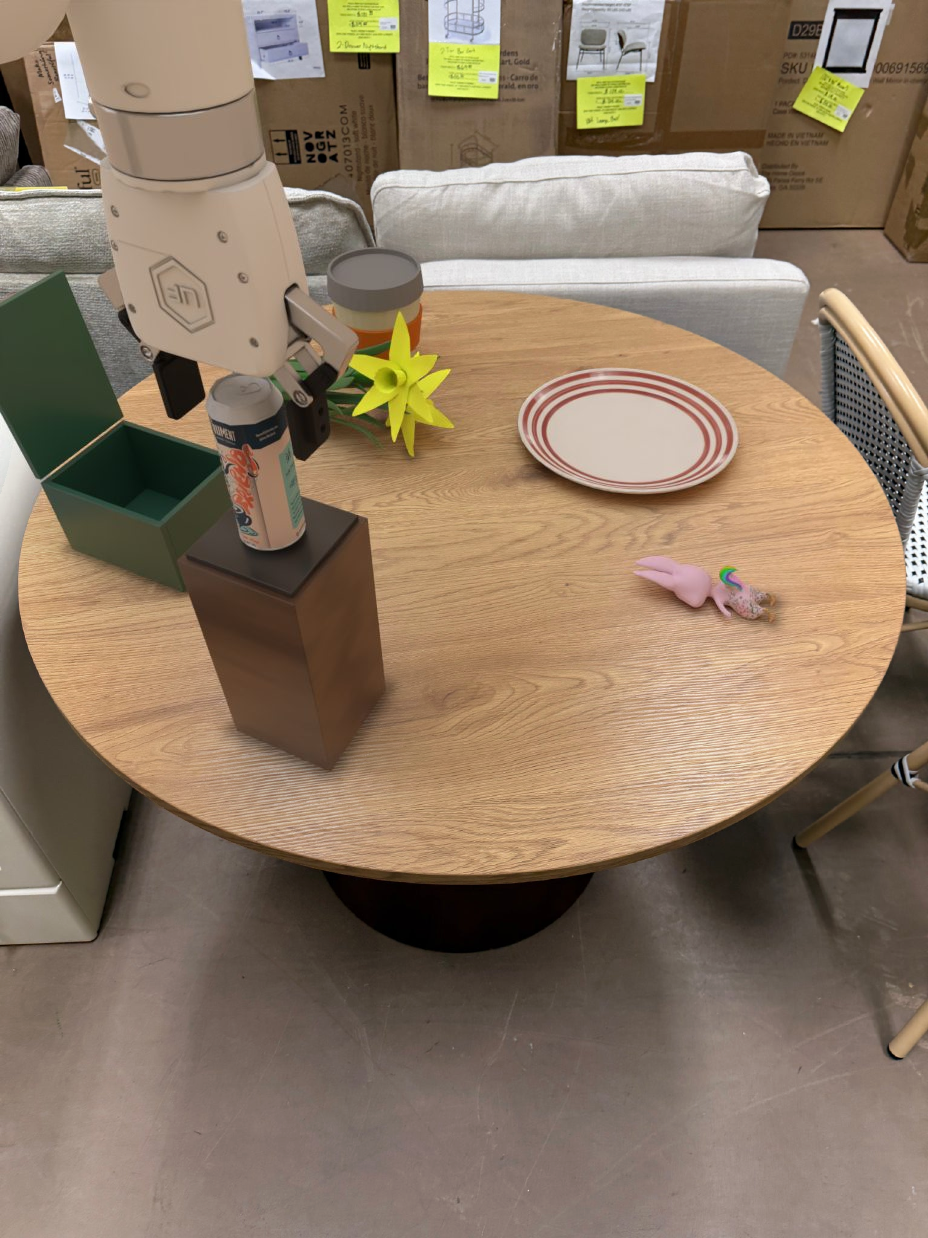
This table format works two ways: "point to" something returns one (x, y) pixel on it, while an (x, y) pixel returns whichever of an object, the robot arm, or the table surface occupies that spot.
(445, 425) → the daffodil flowers
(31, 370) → the lid
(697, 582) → the rabbit figure
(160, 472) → the box
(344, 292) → the reusable coffee cup
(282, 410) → the beer can
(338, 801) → the table surface
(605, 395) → the dinner plate
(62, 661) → the table surface
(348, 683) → the stand
